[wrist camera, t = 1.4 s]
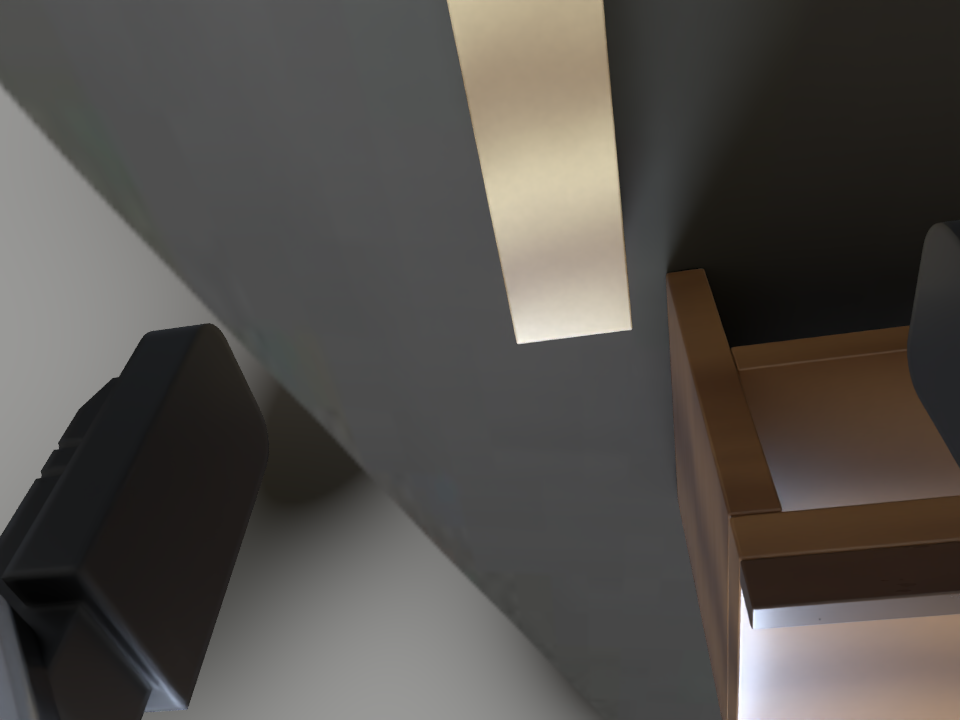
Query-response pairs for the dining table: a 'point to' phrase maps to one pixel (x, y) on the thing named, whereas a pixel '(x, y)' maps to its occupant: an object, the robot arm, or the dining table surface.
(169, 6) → the dining table surface
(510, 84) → the beech stick
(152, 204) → the dining table surface
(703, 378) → the shelf
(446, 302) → the dining table surface
